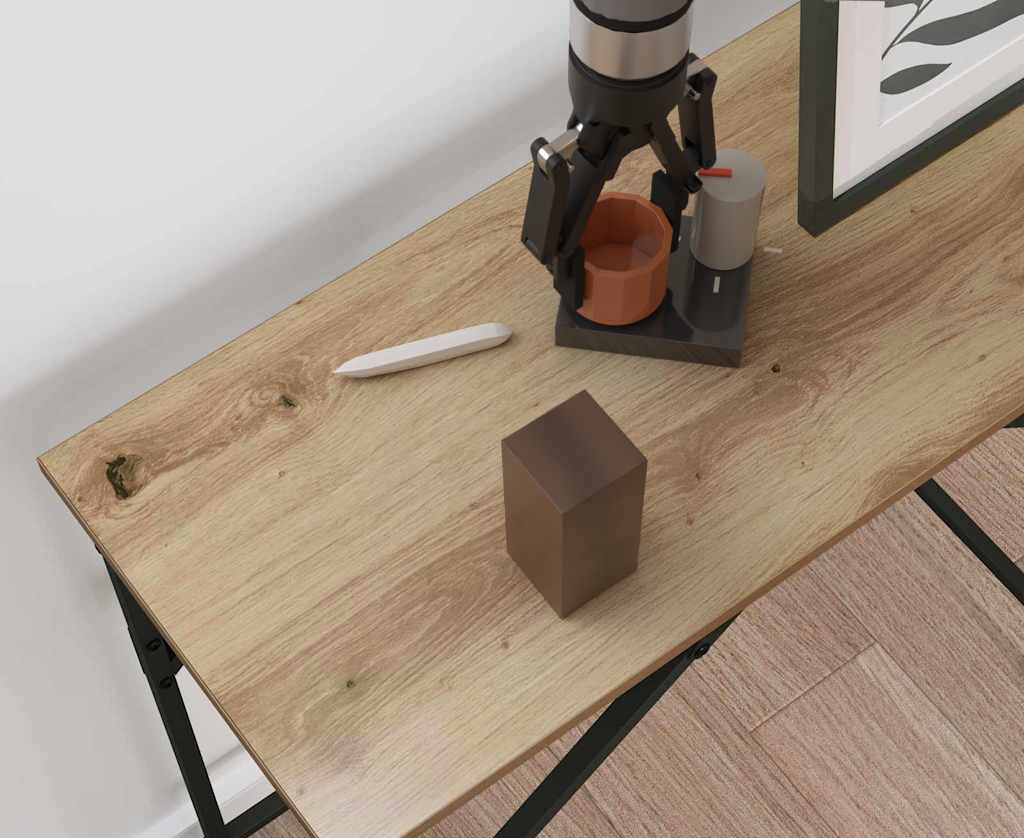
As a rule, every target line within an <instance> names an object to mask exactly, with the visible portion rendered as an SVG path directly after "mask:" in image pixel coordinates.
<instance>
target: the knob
mask: <svg viewBox="0 0 1024 838" xmlns="http://www.w3.org/2000/svg"><path fill="white" fill-rule="evenodd" d="M716 156H717V160H716V162H715V164H714V166H713V167H711V168H710V169H708V170H704V169H703V168H701V169H700V170H698V171H697V172H696V173H697V174H696V176H697V177H698V178H699V179H700V180H701V181H702V182H703V185H702V187H701V189H700V190H699V191H698V192H697V193H695V194H694V199H693V207H692V215H691V216H692V224H691V232H690V241H689V245H690V249H691V252H692V254H693V256H694V257H695V258H696V259H697V260H698V261H699V262H700V263H701V264H703V265H705V266H707V267H709V268H712V269H716V270H731V269H735V268H738V267H740V266H742V265H743V264H745V263H746V262H747V261H748V260H749V259H750V258H751V256H752V255H753V253H754V254H755V249H756V244H757V237H758V232H759V231H758V230H759V226H760V220H761V214H762V208H763V203H764V196H765V192H766V185H767V179H768V176H767V170H766V168H765V166H764V164H763V162H762V161H761V160H760V158H758V157H756V156H755V155H754V154H752V153H750V152H748V151H746V150H743V149H738V148H723V149H719V150H716Z"/></svg>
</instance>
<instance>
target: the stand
mask: <svg viewBox="0 0 1024 838" xmlns="http://www.w3.org/2000/svg"><path fill="white" fill-rule="evenodd" d="M500 448H501V465H502V467H501V469H502V487H503V488H502V489H503V503H504V504H503V505H504V507H503V508H504V523H505V525H504V526H505V543H506V553H507V554H508V555H509V556H510V557H511V559H512V560H513V561H514V563H515V564H516V565H517V566H518V567H519V569H520V570H521V571H522V572H523V574H524V576H526V577H527V579H528V580H529V582H530V583H531V584H532V585H533V586H534V587H535V589H536V590H537V591H538V592H539V594H540V595H541V596H542V597H543V598H544V599H545V601H546V602H547V604H548V605H549V606H550V607H551V609H552V610H553V611H554V612H555V613H556V615H557V616H558V617H559V618H560V620H563V619H564V618H566V617H567V616H569V615H571V614H572V613H573V612H576V611H577V610H578V609H580V608H582V607H583V606H584V605H586V604H587V603H588V602H591V601H592V600H593V599H595V598H597V597H598V596H600V595H601V594H603V593H604V592H605V591H607V590H608V589H610V588H612V587H613V586H614V585H617V584H618V583H619V582H620V581H622V580H623V579H625V578H626V577H628V576H630V575H632V574H633V573H634V572H636V571H637V570H638V563H639V554H640V553H639V551H640V542H641V532H642V521H643V513H644V504H645V503H644V502H645V495H646V494H645V492H646V483H647V475H648V473H647V472H648V463H649V459H648V458H647V457H646V455H644V453H642V451H641V450H640V448H638V447H637V446H636V445H635V444H634V443H633V441H632V440H631V439H630V438H629V437H628V435H627V434H626V433H625V432H624V431H623V430H622V429H621V428H620V426H618V424H617V423H616V421H614V420H613V419H612V417H610V415H609V414H608V413H607V412H606V411H605V409H604V408H603V407H602V406H601V405H600V404H599V403H598V402H597V400H595V398H594V397H593V396H592V395H591V393H589V391H588V390H587V389H585V388H584V389H582V390H580V391H579V392H577V393H576V394H574V395H572V396H571V397H569V398H568V399H565V400H564V401H562V402H561V403H559V404H558V405H555V407H553V408H551V409H549V410H548V411H546V412H545V413H543V414H541V415H540V416H538V417H537V418H535V419H534V420H532V421H530V422H528V423H526V424H525V425H524V426H522V427H520V428H519V429H517V430H515V431H513V432H512V433H510V434H509V435H507V436H506V437H504V438H502V439H501V440H500Z"/></svg>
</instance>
